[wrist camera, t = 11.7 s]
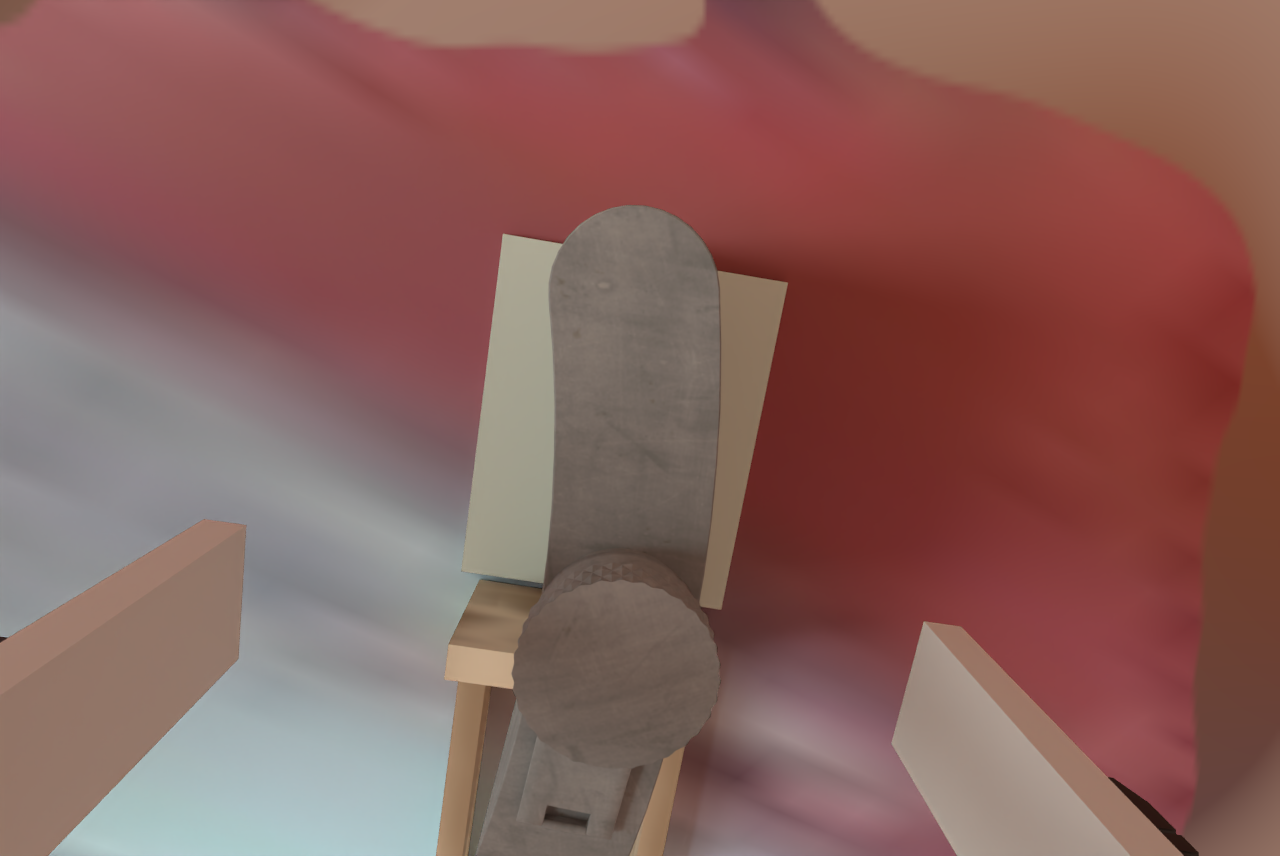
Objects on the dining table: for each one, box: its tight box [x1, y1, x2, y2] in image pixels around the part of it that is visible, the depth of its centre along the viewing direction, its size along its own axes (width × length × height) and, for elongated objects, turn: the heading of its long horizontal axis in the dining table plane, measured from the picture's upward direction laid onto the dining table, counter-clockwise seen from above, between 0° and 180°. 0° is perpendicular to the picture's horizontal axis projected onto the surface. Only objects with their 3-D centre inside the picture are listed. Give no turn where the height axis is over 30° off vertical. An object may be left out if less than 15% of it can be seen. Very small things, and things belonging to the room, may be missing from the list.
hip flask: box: [475, 205, 721, 856], centre depth 22 cm, size 16×4×20 cm, turn 171°
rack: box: [436, 580, 685, 856], centre depth 33 cm, size 10×22×6 cm, turn 170°
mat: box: [461, 234, 788, 610], centre depth 32 cm, size 12×15×1 cm
